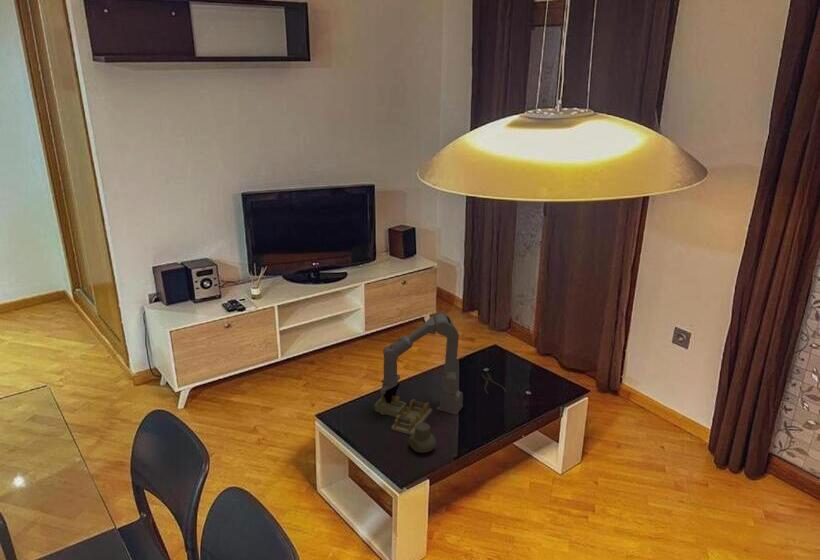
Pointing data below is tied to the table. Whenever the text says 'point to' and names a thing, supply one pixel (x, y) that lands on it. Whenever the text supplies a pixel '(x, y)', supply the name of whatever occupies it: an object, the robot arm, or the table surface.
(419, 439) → the air freshener
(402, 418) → the fuse
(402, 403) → the tray
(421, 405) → the fuse
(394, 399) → the cylinder
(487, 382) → the pliers
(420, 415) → the fuse holder
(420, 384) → the table surface
